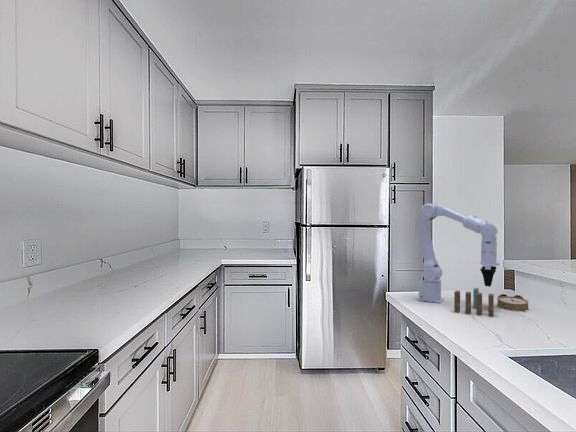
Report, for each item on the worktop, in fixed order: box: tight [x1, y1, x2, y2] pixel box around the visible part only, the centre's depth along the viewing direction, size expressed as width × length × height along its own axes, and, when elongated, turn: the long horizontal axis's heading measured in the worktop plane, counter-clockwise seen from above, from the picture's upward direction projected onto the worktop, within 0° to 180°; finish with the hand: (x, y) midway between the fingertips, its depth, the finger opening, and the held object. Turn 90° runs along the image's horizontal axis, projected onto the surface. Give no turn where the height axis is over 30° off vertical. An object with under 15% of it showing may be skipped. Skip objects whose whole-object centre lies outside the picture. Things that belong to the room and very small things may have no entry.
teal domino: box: [472, 287, 480, 310], centre depth 156 cm, size 2×4×8 cm, turn 149°
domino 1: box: [453, 290, 461, 314], centre depth 150 cm, size 2×4×8 cm, turn 149°
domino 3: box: [476, 292, 483, 316], centre depth 146 cm, size 2×4×8 cm, turn 149°
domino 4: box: [487, 293, 495, 318], centre depth 144 cm, size 2×4×8 cm, turn 149°
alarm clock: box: [496, 293, 529, 312], centre depth 158 cm, size 11×5×15 cm
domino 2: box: [464, 291, 472, 315], centre depth 148 cm, size 2×4×8 cm, turn 149°
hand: (488, 284), depth 155 cm, fingers open, 7 cm apart
